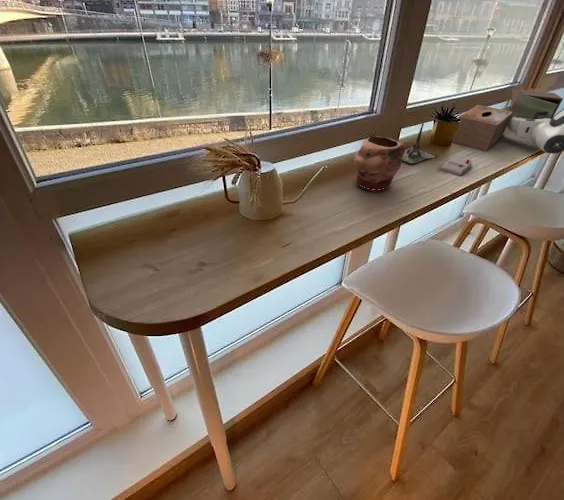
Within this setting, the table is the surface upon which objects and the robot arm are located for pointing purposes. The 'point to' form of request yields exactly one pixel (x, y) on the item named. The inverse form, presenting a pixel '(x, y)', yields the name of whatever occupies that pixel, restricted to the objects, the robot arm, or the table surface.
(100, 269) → the table surface
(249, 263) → the table surface
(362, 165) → the decorative planter
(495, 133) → the tissue box cover
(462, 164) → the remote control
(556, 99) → the green door cabinet
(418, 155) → the eiffel tower figurine
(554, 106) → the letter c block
